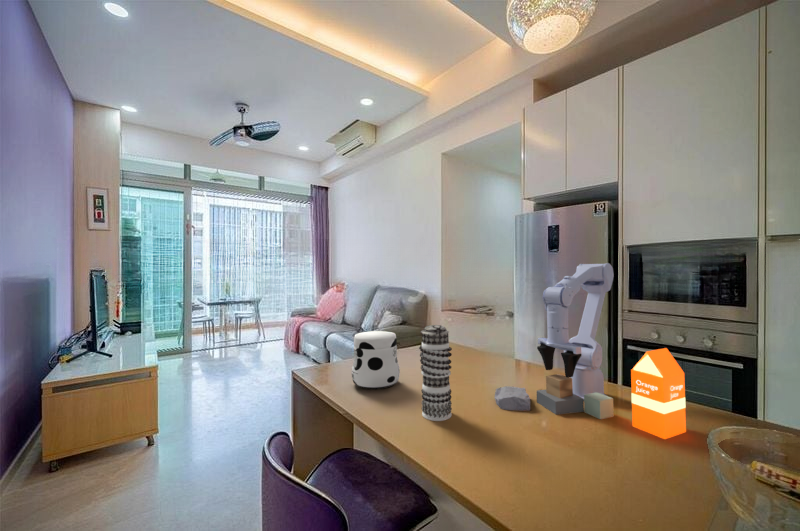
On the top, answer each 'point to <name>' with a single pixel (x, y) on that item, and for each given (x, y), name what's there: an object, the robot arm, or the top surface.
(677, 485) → the top surface
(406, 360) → the top surface
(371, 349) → the milk container
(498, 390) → the stone block
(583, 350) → the robot arm
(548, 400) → the charcoal block
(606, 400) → the sage block
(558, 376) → the walnut block
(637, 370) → the orange juice
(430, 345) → the decorative candle
